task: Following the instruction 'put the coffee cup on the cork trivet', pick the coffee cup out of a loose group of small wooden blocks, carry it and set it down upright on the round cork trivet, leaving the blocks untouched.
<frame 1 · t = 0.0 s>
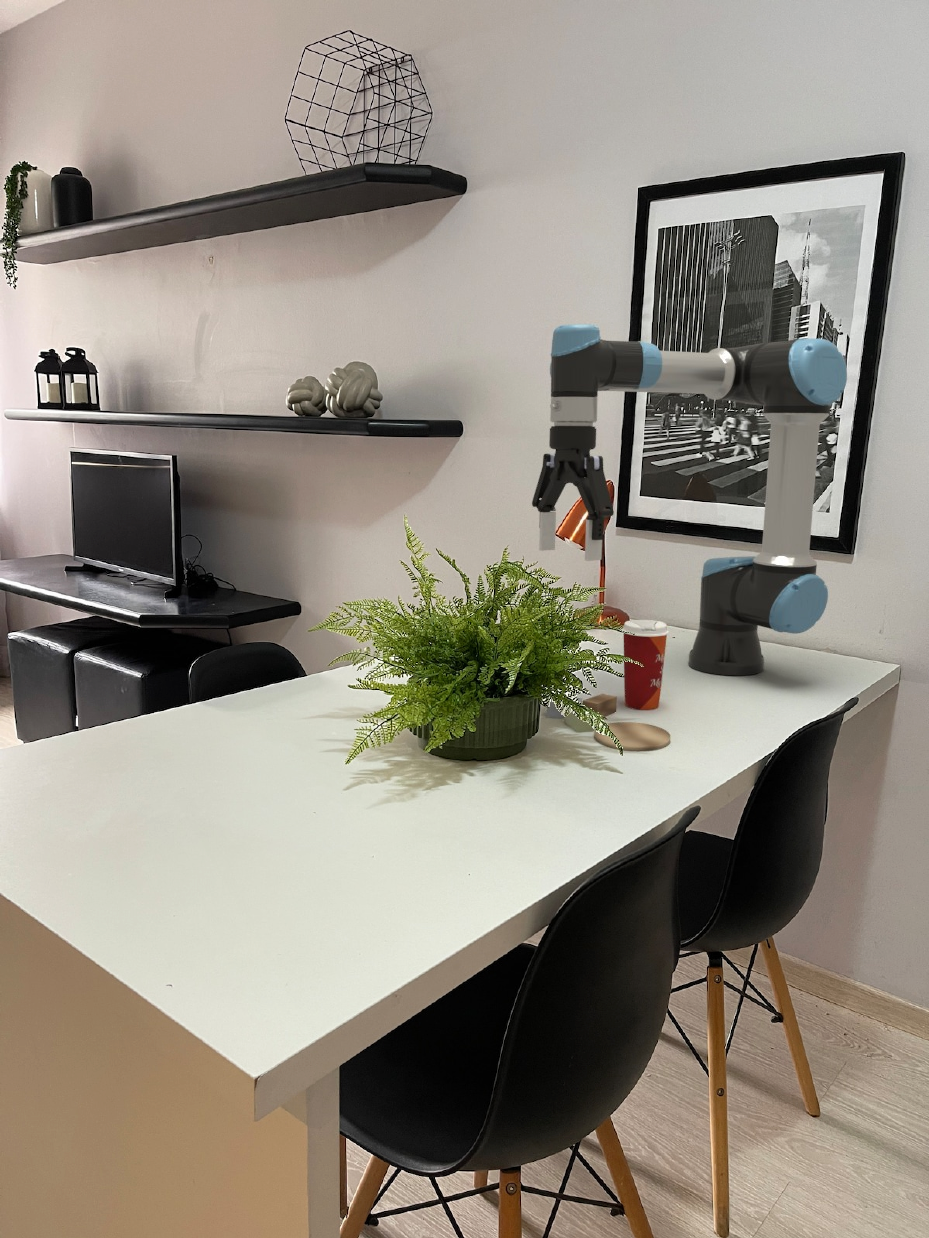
hand: (569, 555, 157), 28 cm above the table, fingers open, 13 cm apart
olive block: (579, 727, 158), on the table
slate block: (564, 716, 163), on the table
trivet: (632, 738, 152), on the table
walnut block: (599, 715, 164), on the table
coffee cup: (641, 706, 170), on the table
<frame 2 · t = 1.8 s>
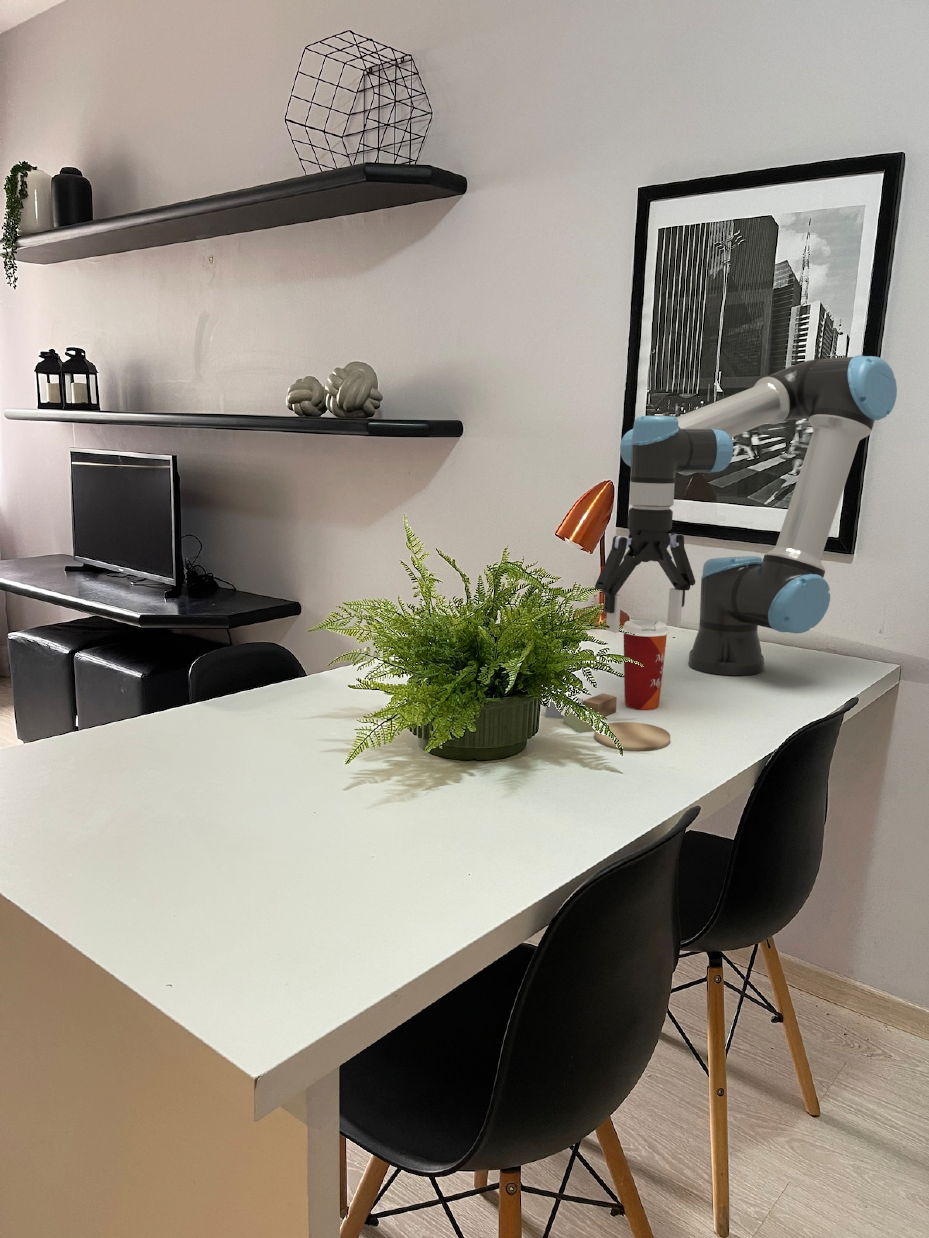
hand: (643, 628, 167), 14 cm above the table, fingers open, 13 cm apart
nothing on the table moved.
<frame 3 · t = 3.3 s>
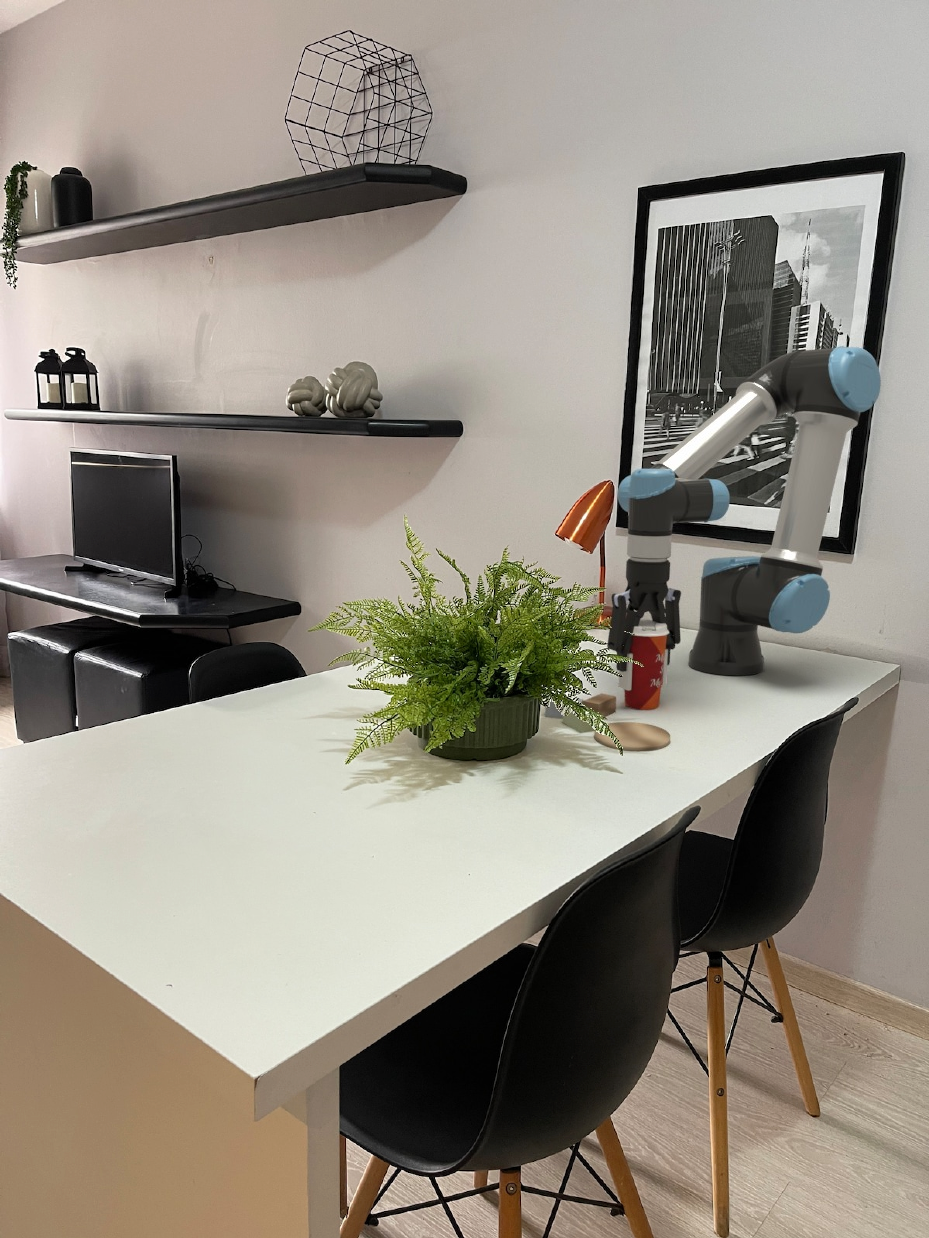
hand: (642, 685, 169), 4 cm above the table, fingers closed on coffee cup, 7 cm apart
coffee cup: (641, 706, 170), on the table, touching gripper
everything else where it was.
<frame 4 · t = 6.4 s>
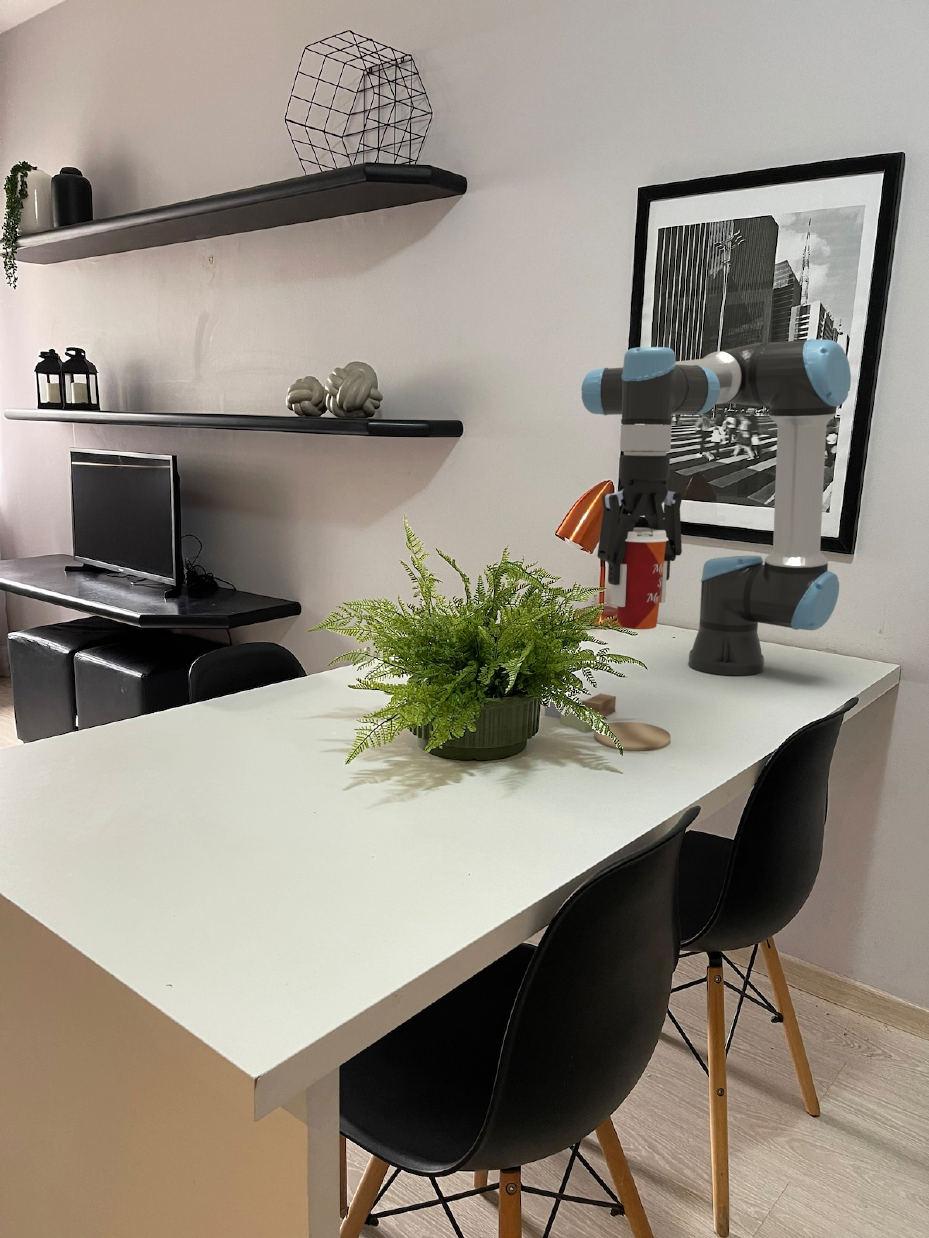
hand: (638, 603, 147), 22 cm above the table, fingers closed on coffee cup, 7 cm apart
coffee cup: (636, 626, 148), point 18 cm above the table, touching gripper
everything else where it was.
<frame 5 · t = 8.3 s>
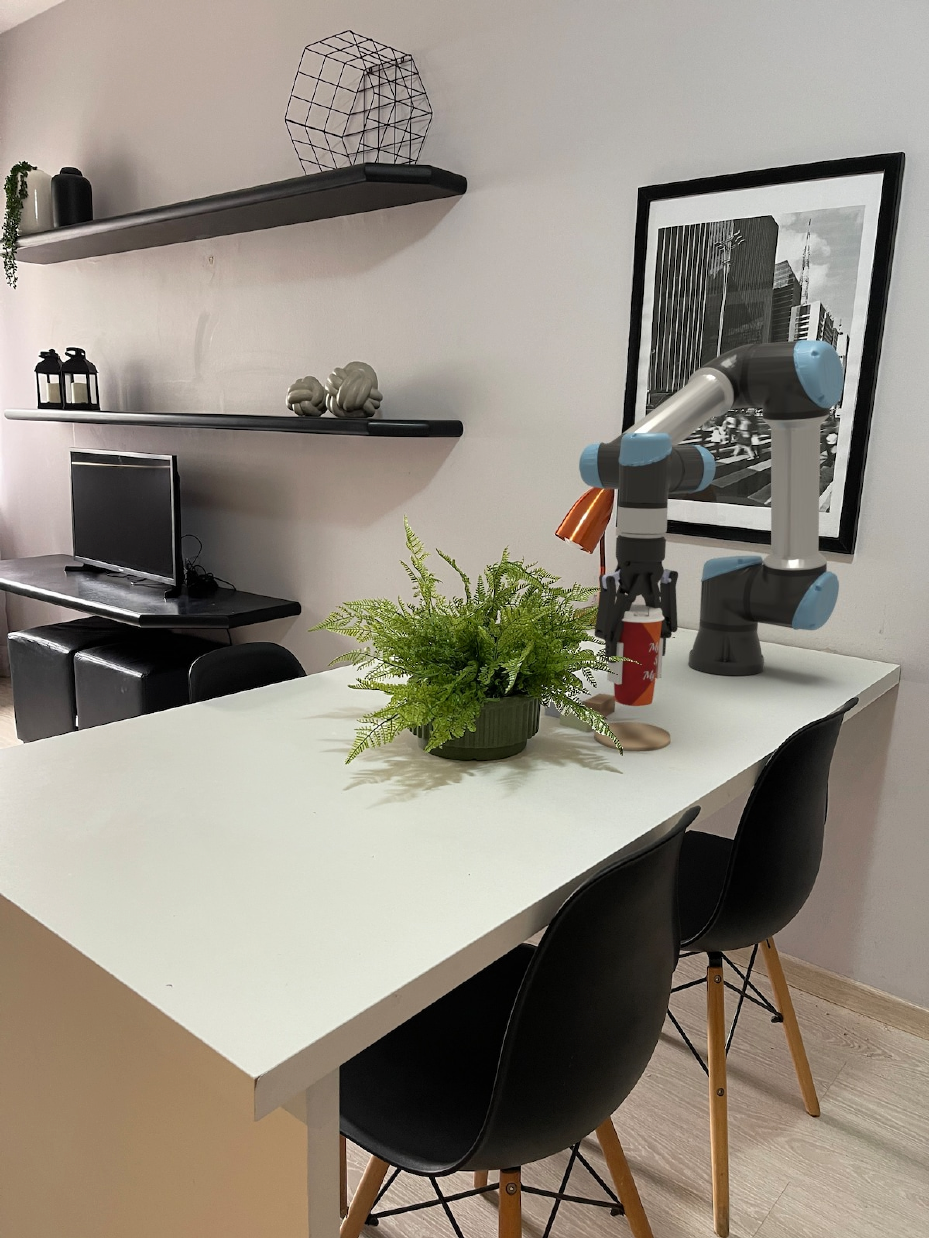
hand: (634, 679, 150), 10 cm above the table, fingers closed on coffee cup, 7 cm apart
coffee cup: (633, 701, 150), point 6 cm above the table, touching gripper
everything else where it was.
when the fingers open (6 cm above the table, at t = 9.7 s): coffee cup drops 1 cm, resting on trivet.
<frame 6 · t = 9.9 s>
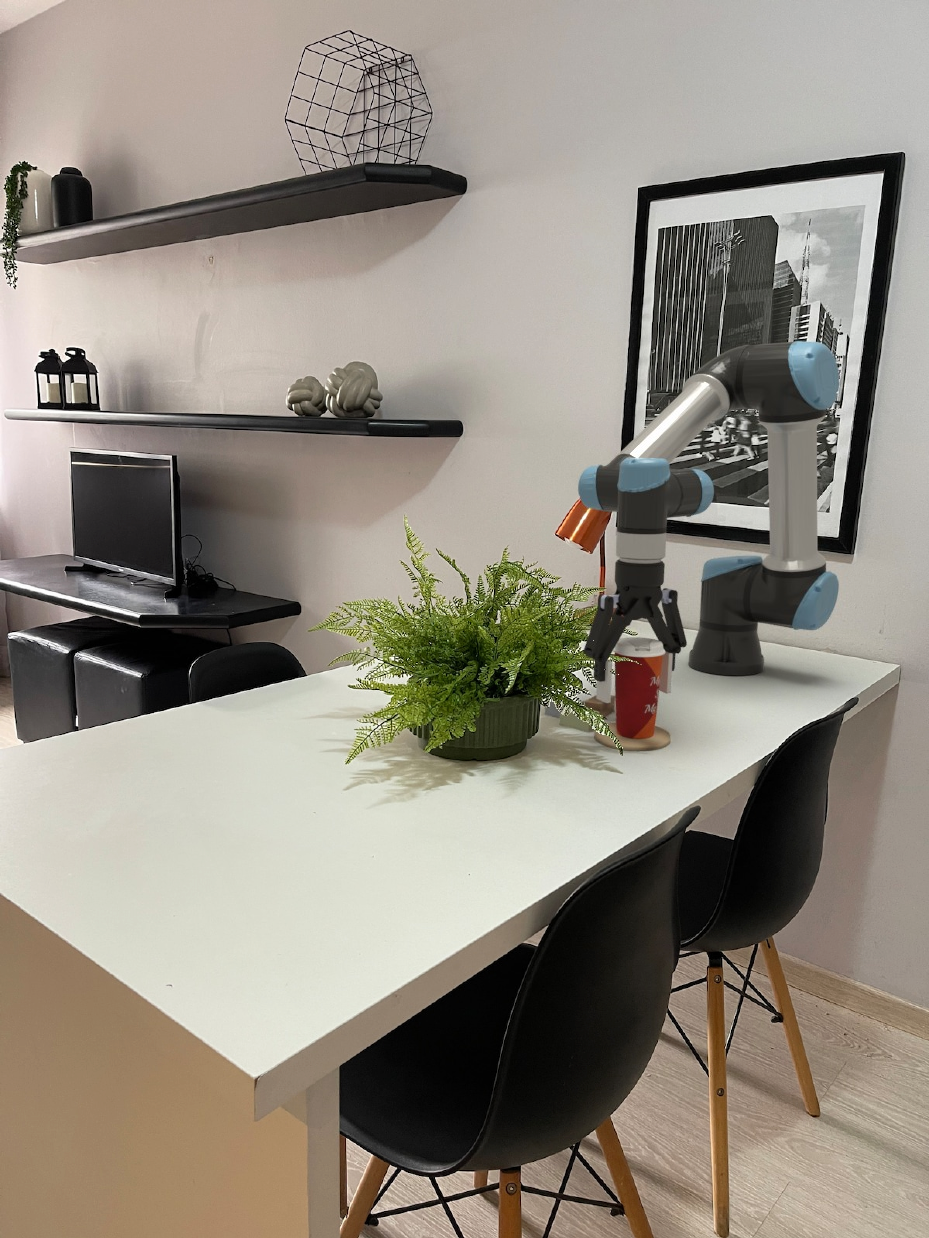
hand: (633, 695, 150), 7 cm above the table, fingers open, 11 cm apart
coffee cup: (635, 733, 152), point 1 cm above the table, touching trivet
everything else where it was.
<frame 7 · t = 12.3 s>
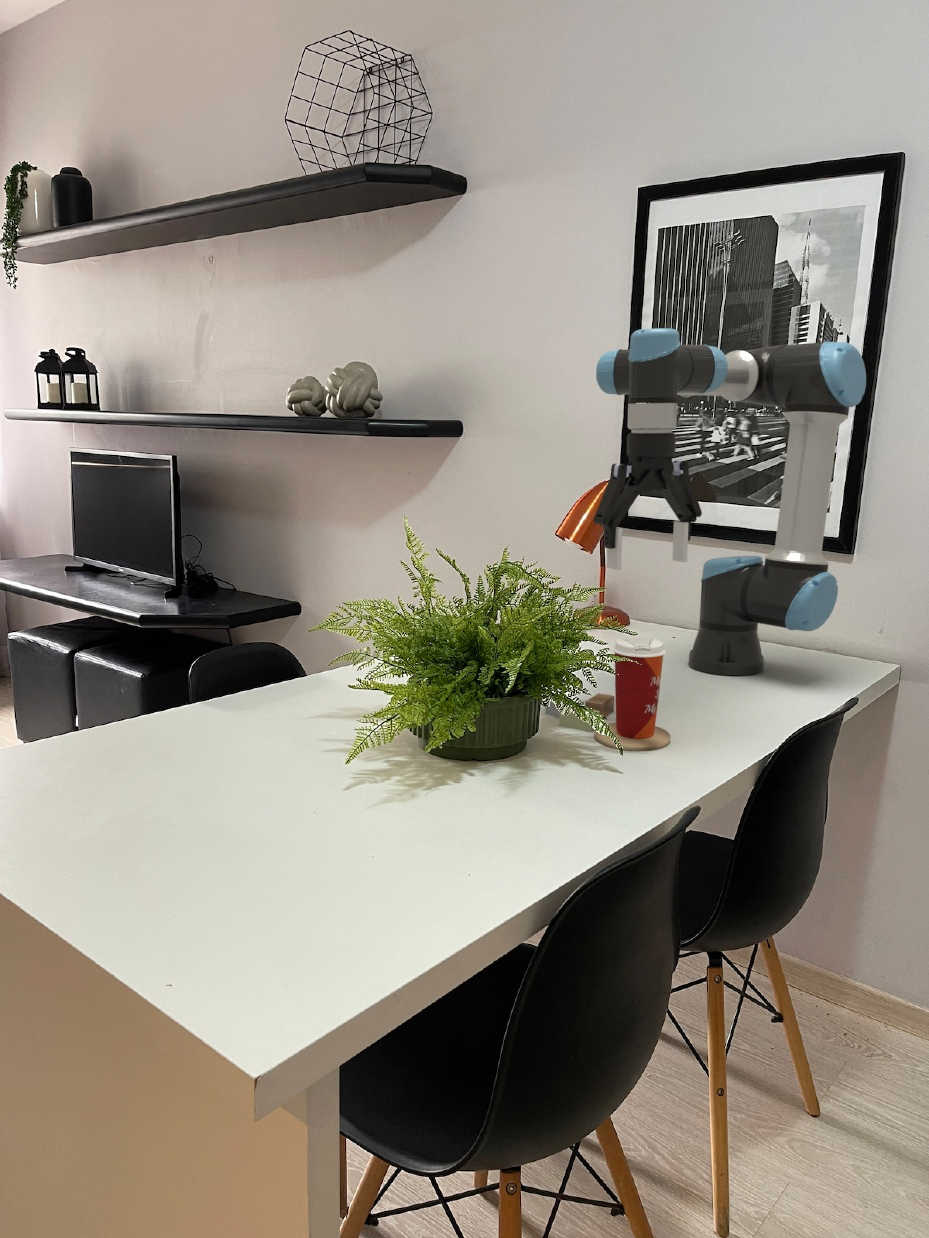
hand: (647, 565, 153), 27 cm above the table, fingers open, 13 cm apart
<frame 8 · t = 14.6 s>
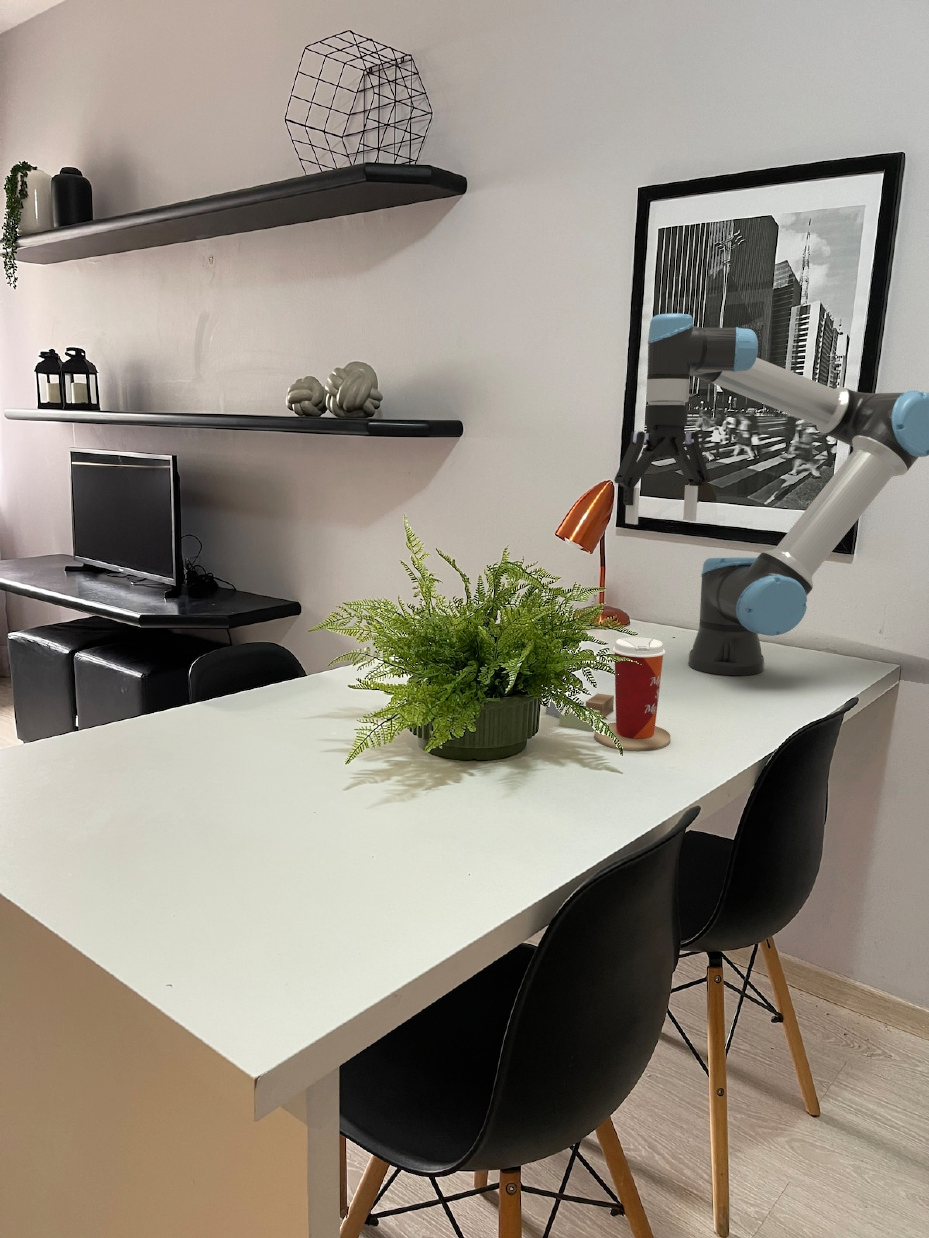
hand: (661, 522, 174), 32 cm above the table, fingers open, 13 cm apart
nothing on the table moved.
at the end: coffee cup 0.6 cm from the trivet (horizontally); coffee cup tilted 0°; olive block moved 0.2 cm from its start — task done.
